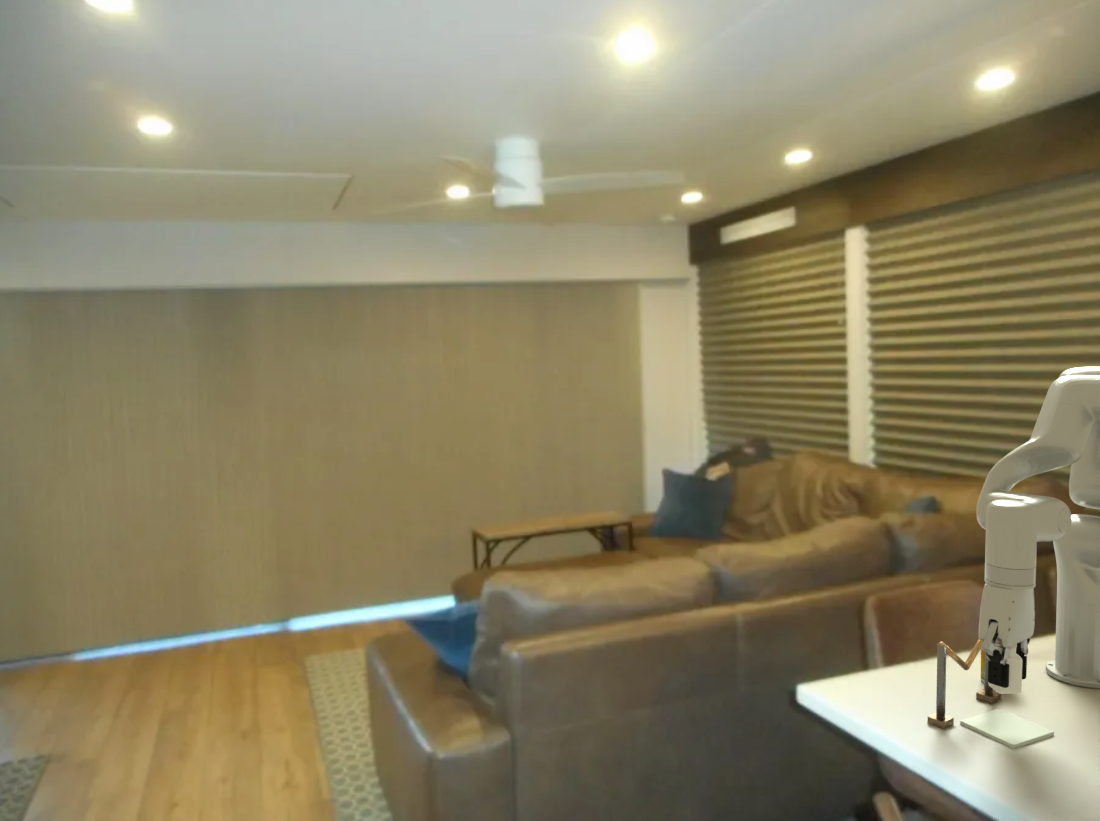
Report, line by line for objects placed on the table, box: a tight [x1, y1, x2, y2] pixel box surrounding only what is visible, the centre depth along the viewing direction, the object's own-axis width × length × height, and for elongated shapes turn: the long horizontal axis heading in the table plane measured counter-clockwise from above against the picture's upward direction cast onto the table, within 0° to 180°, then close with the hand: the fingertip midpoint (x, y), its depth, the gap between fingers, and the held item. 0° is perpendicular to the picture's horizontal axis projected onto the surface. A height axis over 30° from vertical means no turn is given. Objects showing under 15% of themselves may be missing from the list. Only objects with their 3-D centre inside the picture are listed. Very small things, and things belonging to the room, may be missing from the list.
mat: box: [959, 708, 1055, 749], centre depth 144 cm, size 10×10×1 cm
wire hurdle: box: [927, 638, 1002, 730], centre depth 151 cm, size 19×3×14 cm, turn 125°
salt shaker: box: [988, 639, 1023, 695], centre depth 143 cm, size 4×4×10 cm
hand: (1007, 679), depth 143 cm, fingers closed on salt shaker, 5 cm apart
